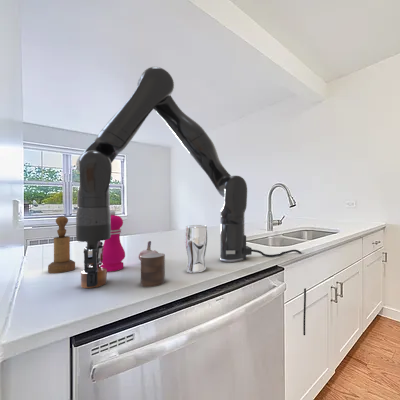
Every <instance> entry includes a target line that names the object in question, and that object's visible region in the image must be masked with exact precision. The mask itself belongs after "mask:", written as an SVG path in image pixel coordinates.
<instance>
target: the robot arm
mask: <svg viewBox="0 0 400 400" xmlns="http://www.w3.org/2000/svg"><path fill="white" fill-rule="evenodd" d="M136 86H137V87H136V89H135V90H134V92H133V93H132V95H131V96H130V97H129V98H128V99H127V101H126V102H125V103H124V104H123V105H122V107H120V108H119V110H118V111H117V112H116V113H115V114H114V115H113V116H112V117H111V118H110V120H108V122H107V123H106V124H105V125H104V126H103V128H102V129H101V130H100V131H99V132H98V135H97V136H96V138H95V139H94V140H93V141H92V143H90V144H89V145H88V147H87V148H86V149H85V150H84V151H83V152H82V153H81V154H80V155H79V157H78V158H77V159H76V162H75V163H76V164H75V166H76V169H77V171H78V172H79V186H78V189H77V195H76V197H77V198H76V199H77V201H76V202H77V203H76V204H77V207H76V214H75V238H76V239H75V240H76V241H77V242H79V243H84V242H85V243H86V246H85V247H84V248H83V266H84V267H83V268H84V269H83V271H84V272H86V273H87V287H92V286H96V285H97V283H98V268H101V265H102V264H103V263H102V260H103V249H104V246H103V245H104V242H103V241H105V240H107V239H110V237H111V213H110V211H111V208H110V206H111V205H110V203H111V202H110V201H111V198H110V186H111V181H112V170H113V166H112V164H113V162H114V161H115V159H116V158H117V157H118V155H119V154H120V153H122V152H123V151H124V150H125V149H126V148H127V147H128V145H129V144H130V142H131V141H132V140H133V139H134V137H135V136H136V134H137V133H138V132H139V130H140V129H141V127H142V125H143V124H144V122H145V121H146V119H147V118H148V117H149V115H150V114H151V113H152V111H153V110H154V111H155V112H156V113H157V114H158V115H159V117H161V119H162V120H163V121H164V122H165V124H166V125H167V126H168V127H169V129H170V130H171V131H172V133H173V134H174V135H175V137H176V138H177V140H178V141H179V142H180V143H181V145H182V146H183V147H184V148H185V150H186V151H187V152H188V154H189V155H190V156H191V157H192V158H193V159H194V161H195V162H196V163H197V164H198V166H199V167H200V168H201V169H202V170H203V172H204V173H205V174H206V175H207V177H208V178H209V180H210V182H211V183H212V184H213V186H214V188H215V189H216V191H217V192H218V194H219V195H220V196H221V197H222V198H224V204H223V207H222V208H221V209H220V231H219V233H220V234H219V235H220V240H219V241H220V244H219V245H220V251H219V252H220V253H219V254H220V255H219V256H220V257H219V261H221V262H223V263H237V262H242V261H244V260H247V256H251V255H252V253H258V254H260V255H261V256H263V257H268V258H272V257H273V258H274V257H280V256H282V255H285V254H290V253H298V254H299V255H301V254H302V252H301V251H300V250H298V249H290V250H285V251H282V252H279V253H275V254H274V253H273V254H268V253H267V254H266V253H264V251H263V252H262V251H261V250H258V249H253V248H252V247H250V246H248V245H247V235H246V234H245V224H246V223H245V217H246V216H245V214H246V210H247V206H248V184H247V182H246V180H245V178H243V177H242V176H241V175H231V174H230V173H229V171H227V169H226V168H225V166H224V165H223V164H222V162H221V159H220V158H219V154H218V152H217V151H218V150H217V148H216V146H215V144H214V142H213V140H212V138H211V137H210V136H209V135H208V133H207V132H206V131H205V129H204V128H203V126H201V125H200V124H199V123H198V122H197V121H196V120H194V119H193V118H191V117H190V116H188V114H186V113H185V112H184V111H183V110H182V109H181V108H180V107H179V106H178V104H177V103H176V100H174V99H173V96H172V93H173V92H174V89H175V82H174V78H173V76H172V75H171V74H170V72H169V71H167V70H166V69H164V68H162V67H159V66H150V67H148V68H146V69H145V70H144V71H143V72H142V73H141V75H140V76H139V78H138V80H137V85H136ZM306 308H307V288H303V321H302V323H303V326H302V329H303V330H302V331H303V333H302V334H303V336H306V313H307V312H306Z"/></svg>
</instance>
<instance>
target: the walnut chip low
mask: <svg viewBox="0 0 400 400" xmlns="http://www.w3.org/2000/svg"><path fill="white" fill-rule="evenodd" d="M164 283H166V268H165V269H163V270H160V271H156V272H141V271H140V286H141V287H144V288H145V287H146V288H151V287H157V286H161V285H163V284H164Z"/></svg>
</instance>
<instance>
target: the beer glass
mask: <svg viewBox="0 0 400 400" xmlns="http://www.w3.org/2000/svg"><path fill="white" fill-rule="evenodd" d="M184 233H185V236H184V244H185V249H186V255H187V264H186V273H191V274H196V273H202V272H205V271H206V270H207V267H206V266H207V265H206V252H207V245H208V225H206V224H192V225H186V226H185V232H184Z"/></svg>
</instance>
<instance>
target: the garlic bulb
mask: <svg viewBox="0 0 400 400" xmlns="http://www.w3.org/2000/svg"><path fill="white" fill-rule="evenodd" d="M146 246H147V247H146V249H143V250H141V251H140V252H139V254H138V260H139V261H140V262H141V256H142V255H146V254H152V253H159V251H157V250H156V249H155V250H153V249H151V246H152V241H151V240H149V241H148V242H147V245H146Z"/></svg>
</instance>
